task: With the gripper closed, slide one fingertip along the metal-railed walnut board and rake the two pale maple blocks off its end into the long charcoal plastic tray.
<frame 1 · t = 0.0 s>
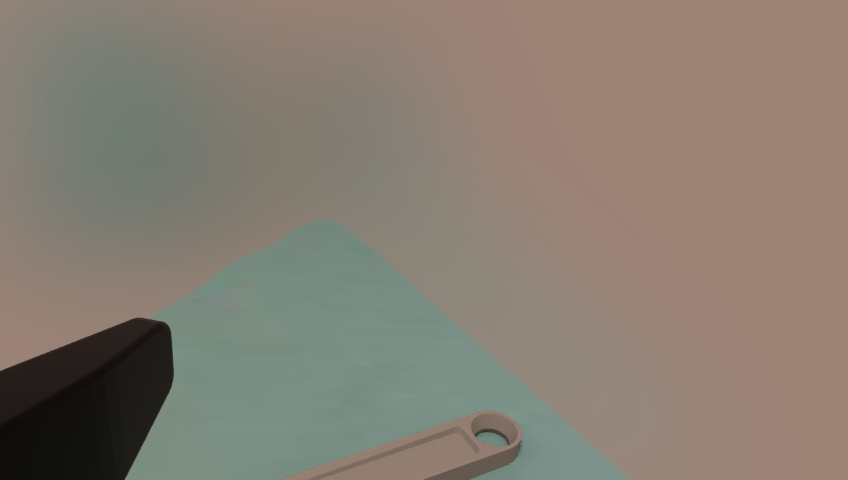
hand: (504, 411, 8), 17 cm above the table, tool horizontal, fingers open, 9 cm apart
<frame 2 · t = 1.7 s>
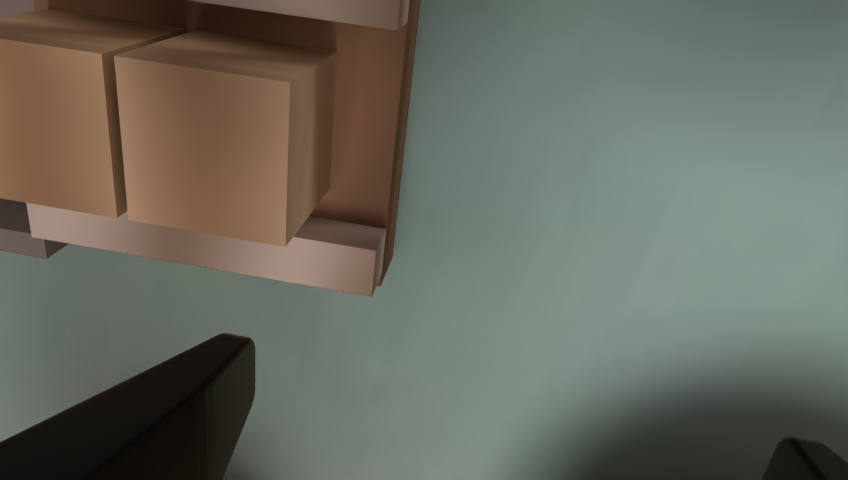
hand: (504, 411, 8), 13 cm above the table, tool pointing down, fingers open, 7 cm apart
slot board: (243, 89, 21), on the table
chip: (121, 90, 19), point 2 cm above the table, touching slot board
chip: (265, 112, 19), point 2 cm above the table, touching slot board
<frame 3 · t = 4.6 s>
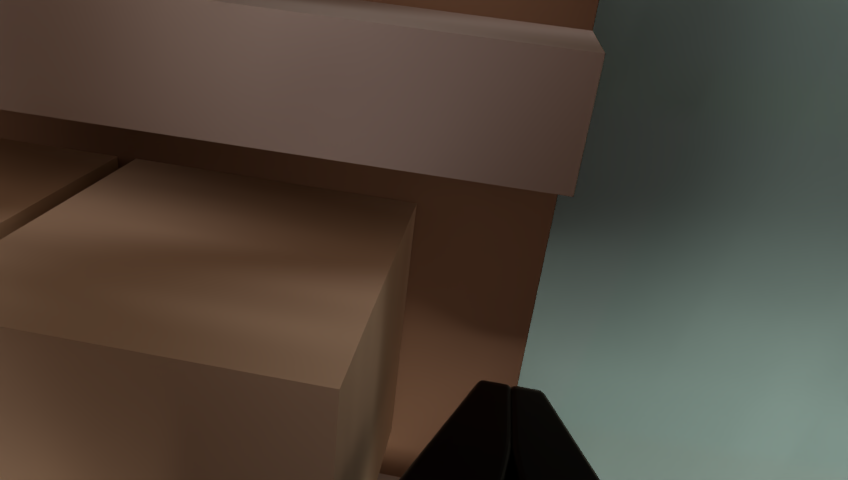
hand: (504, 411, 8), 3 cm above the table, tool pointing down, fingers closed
slot board: (234, 233, 12), on the table
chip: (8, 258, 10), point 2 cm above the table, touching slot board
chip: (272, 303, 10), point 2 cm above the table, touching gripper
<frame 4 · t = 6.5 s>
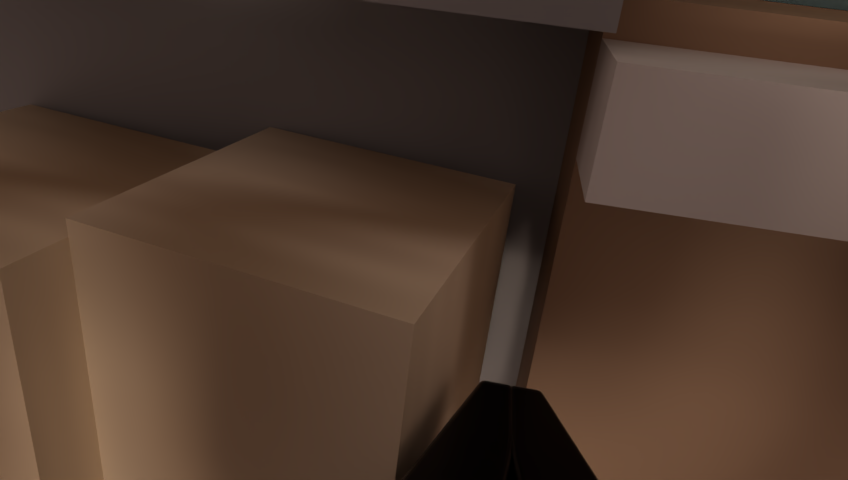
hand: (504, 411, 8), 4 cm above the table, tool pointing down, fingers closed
slot board: (844, 334, 11), on the table
tray: (139, 221, 12), on the table
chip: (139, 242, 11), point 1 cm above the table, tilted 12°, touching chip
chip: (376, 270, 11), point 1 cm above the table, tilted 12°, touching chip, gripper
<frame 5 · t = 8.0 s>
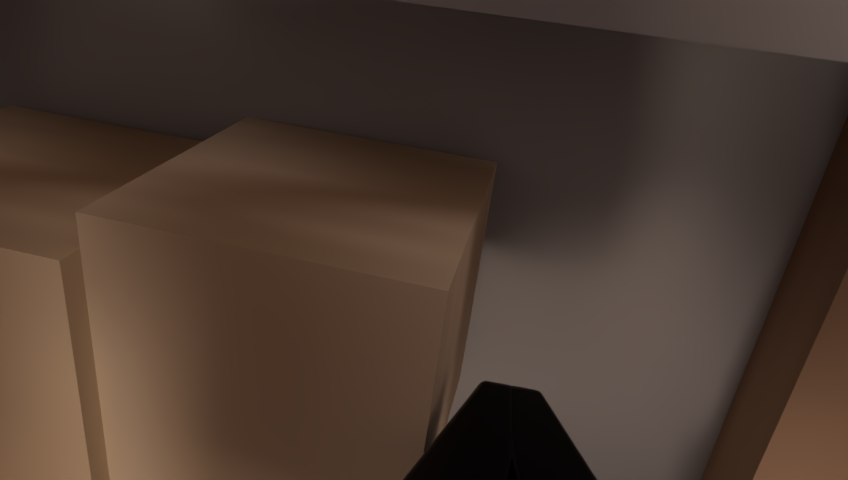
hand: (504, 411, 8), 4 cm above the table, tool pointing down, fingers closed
tray: (335, 250, 12), on the table
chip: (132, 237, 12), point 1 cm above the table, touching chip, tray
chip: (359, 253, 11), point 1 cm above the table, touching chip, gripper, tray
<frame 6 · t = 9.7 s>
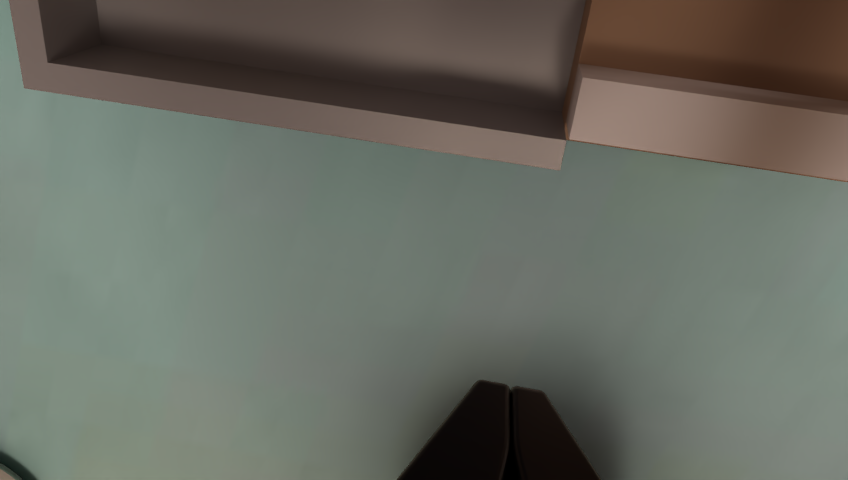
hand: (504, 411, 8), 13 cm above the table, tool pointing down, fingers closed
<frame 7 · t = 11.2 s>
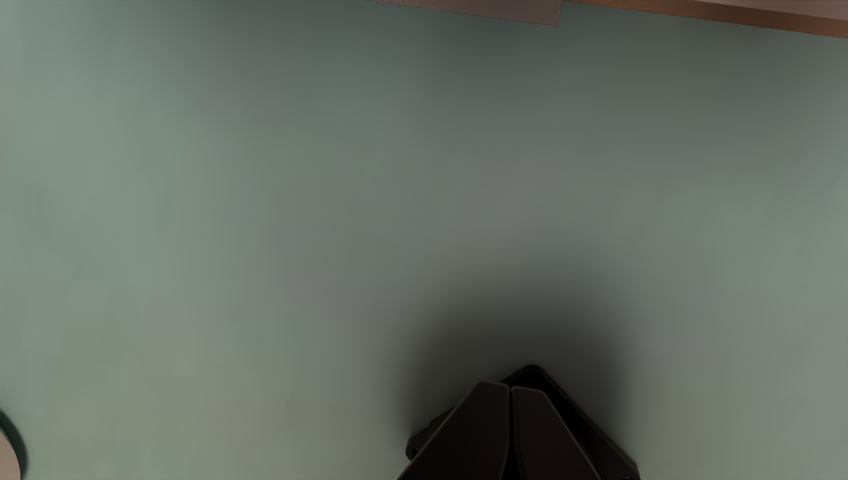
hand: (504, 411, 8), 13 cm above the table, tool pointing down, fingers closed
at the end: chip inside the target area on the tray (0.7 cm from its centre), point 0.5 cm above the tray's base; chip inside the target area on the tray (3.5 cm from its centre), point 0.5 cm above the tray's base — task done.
